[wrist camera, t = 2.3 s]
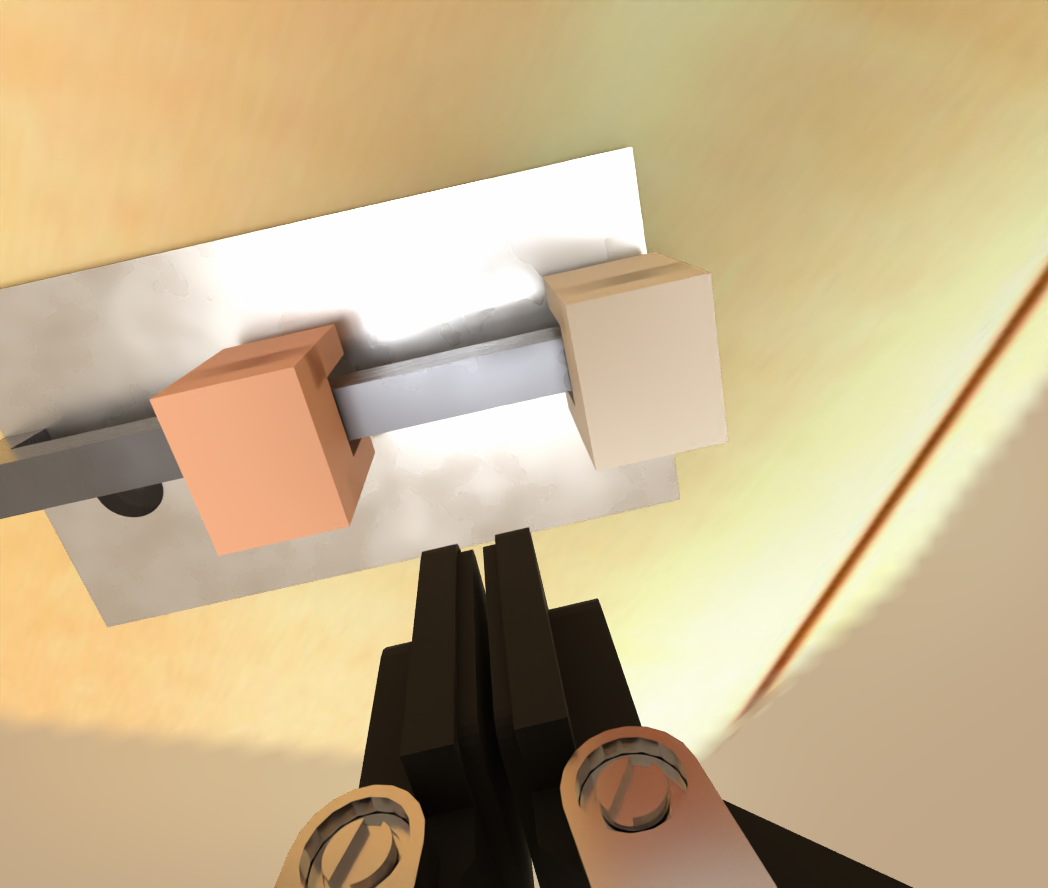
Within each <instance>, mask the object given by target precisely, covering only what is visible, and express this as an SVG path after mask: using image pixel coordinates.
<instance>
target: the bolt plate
mask: <svg viewBox="0 0 1048 888" xmlns="http://www.w3.org/2000/svg"><path fill="white" fill-rule="evenodd" d="M642 254H647V252H646V245H645V238H644V230H643V223H642V216H641V208H640V201H639V193H638V186H637V179H636V171H635V164H634V157H633V149H632V147H628V148H623V149H619V150H614V151H610V152H605V153H601V154H597V155H592V156H588V157H583V158H579V159H574V160H570V161H566V162H561V163H557V164H552V165H548V166H544V167H539V168H535V169H530V170H526V171H521V172H517V173H513V174H508V175H504V176H499V177H495V178H490V179H486V180H482V181H477V182H473V183H468V184H464V185H459V186H455V187H451V188H446V189H442V190H437V191H433V192H429V193H424V194H420V195H415V196H411V197H406V198H402V199H398V200H393V201H389V202H384V203H380V204H375V205H371V206H367V207H362V208H358V209H353V210H349V211H344V212H340V213H336V214H331V215H327V216H322V217H318V218H314V219H309V220H305V221H300V222H296V223H291V224H287V225H283V226H278V227H274V228H269V229H265V230H260V231H256V232H252V233H247V234H243V235H238V236H234V237H229V238H225V239H221V240H216V241H212V242H207V243H203V244H198V245H194V246H190V247H185V248H181V249H176V250H172V251H168V252H163V253H159V254H154V255H150V256H145V257H141V258H137V259H132V260H128V261H123V262H119V263H114V264H110V265H106V266H101V267H97V268H92V269H88V270H83V271H79V272H75V273H70V274H66V275H61V276H57V277H53V278H48V279H44V280H39V281H35V282H30V283H26V284H22V285H17V286H13V287H8V288H4V289H0V430H1V431H2V433H3V435H4V437H9V436H13V435H18V434H22V433H27V432H31V431H36V430H40V429H45V428H46V429H47V431H48V433H49V435H50V437H51V439H52V440H55V439H59V438H63V437H68V436H72V435H77V434H81V433H86V432H90V431H95V430H99V429H103V428H108V427H112V426H117V425H121V424H126V423H130V422H135V421H139V420H144V419H148V418H152V417H157V416H156V414H155V412H154V409H153V407H152V405H151V402H150V400H149V399H151V398H152V397H153V396H155V395H156V394H158V393H159V392H161V391H162V390H164V389H165V388H167V387H168V386H170V385H171V384H173V383H174V382H176V381H177V380H178V379H180V378H181V377H183V376H184V375H186V374H187V373H189V372H190V371H192V370H193V369H195V368H196V367H198V366H199V365H201V364H202V363H203V362H205V361H206V360H208V359H209V358H211V357H212V356H214V355H215V354H217V353H218V352H220V351H221V350H223V349H225V348H230V347H234V346H239V345H243V344H247V343H252V342H256V341H261V340H265V339H270V338H274V337H278V336H283V335H287V334H292V333H296V332H301V331H305V330H310V329H314V328H318V327H323V326H327V325H332V324H335V327H336V331H337V334H338V337H339V340H340V343H341V346H342V349H343V353H344V354H343V356H342V357H341V359H340V360H339V361H338V363H337V364H336V365H335V367H334V368H333V370H332V371H331V372H330V374H329V375H328V377H327V378H330V377H335V376H339V375H344V374H348V373H352V372H357V371H361V370H366V369H370V368H375V367H379V366H384V365H388V364H392V363H397V362H401V361H406V360H410V359H415V358H419V357H424V356H428V355H432V354H437V353H441V352H446V351H450V350H455V349H459V348H464V347H468V346H472V345H477V344H481V343H486V342H490V341H495V340H499V339H504V338H508V337H512V336H517V335H521V334H526V333H530V332H535V331H539V330H544V329H548V328H552V327H557V326H560V324H559V323H558V321H557V320H556V318H555V316H554V315H553V313H552V312H551V310H550V309H549V305H548V300H547V295H546V290H545V285H544V280H543V277H545V276H549V275H554V274H558V273H563V272H567V271H571V270H576V269H580V268H585V267H589V266H594V265H598V264H602V263H607V262H611V261H616V260H620V259H625V258H629V257H634V256H638V255H642ZM370 437H371V440H372V444H373V447H374V450H375V455H374V457H373V460H372V463H371V466H370V469H369V472H368V475H367V478H366V481H365V484H364V486H363V489H362V492H361V495H360V498H359V501H358V504H357V507H356V510H355V513H354V516H353V518H352V521H351V524H350V527H346V528H341V529H337V530H332V531H328V532H324V533H319V534H315V535H310V536H306V537H301V538H297V539H292V540H288V541H283V542H279V543H274V544H270V545H265V546H261V547H257V548H252V549H248V550H243V551H239V552H234V553H230V554H225V555H221V556H218V554H217V552H216V549H215V547H214V545H213V543H212V540H211V538H210V536H209V534H208V531H207V529H206V527H205V524H204V522H203V520H202V518H201V515H200V513H199V511H198V509H197V506H196V504H195V502H194V500H193V497H192V495H191V493H190V491H189V488H188V486H187V484H186V482H185V479H184V478H181V479H176V480H172V481H167V482H163V483H158V484H154V485H150V486H145V487H141V488H136V489H132V490H127V491H123V492H118V493H114V494H109V495H105V496H101V497H96V498H92V499H87V500H83V501H78V502H74V503H69V504H65V505H60V506H56V507H52V508H47V509H44V511H45V513H46V515H47V517H48V518H49V520H50V522H51V524H52V526H53V528H54V530H55V531H56V533H57V535H58V537H59V539H60V541H61V542H62V544H63V546H64V548H65V550H66V552H67V554H68V555H69V557H70V559H71V561H72V563H73V565H74V567H75V568H76V570H77V572H78V574H79V576H80V578H81V579H82V581H83V583H84V585H85V587H86V589H87V591H88V592H89V594H90V596H91V598H92V600H93V602H94V604H95V605H96V607H97V609H98V611H99V613H100V615H101V616H102V618H103V620H104V622H105V624H106V626H107V627H111V626H115V625H120V624H124V623H129V622H133V621H138V620H142V619H147V618H151V617H156V616H160V615H164V614H169V613H173V612H178V611H182V610H187V609H191V608H196V607H200V606H205V605H209V604H214V603H218V602H223V601H227V600H232V599H236V598H240V597H245V596H249V595H254V594H258V593H263V592H267V591H272V590H276V589H281V588H285V587H290V586H294V585H299V584H303V583H308V582H312V581H317V580H321V579H325V578H330V577H334V576H339V575H343V574H348V573H352V572H357V571H361V570H366V569H370V568H375V567H379V566H384V565H388V564H393V563H397V562H401V561H406V560H410V559H415V558H419V557H421V554H422V552H423V551H427V550H431V549H436V548H440V547H444V546H449V545H453V544H458V545H459V548H464V547H469V546H473V545H478V544H482V543H486V542H491V541H495V535H496V534H501V533H505V532H509V531H514V530H518V529H522V528H527V527H529V529H530V533H531V532H536V531H540V530H545V529H549V528H554V527H558V526H562V525H567V524H571V523H576V522H580V521H585V520H589V519H594V518H598V517H603V516H607V515H612V514H616V513H621V512H625V511H630V510H634V509H639V508H643V507H647V506H652V505H656V504H661V503H665V502H670V501H674V500H679V499H680V496H679V489H678V481H677V474H676V466H675V459H674V454H672V455H667V456H663V457H659V458H654V459H650V460H645V461H641V462H636V463H632V464H627V465H623V466H618V467H614V468H609V469H605V470H600V471H596V470H595V467H594V465H593V463H592V461H591V458H590V456H589V454H588V452H587V449H586V447H585V445H584V443H583V440H582V438H581V436H580V433H579V431H578V429H577V427H576V424H575V422H574V420H573V418H572V415H571V413H570V411H569V408H568V403H567V398H566V393H565V392H564V393H559V394H555V395H550V396H546V397H542V398H537V399H533V400H528V401H524V402H519V403H515V404H510V405H506V406H501V407H497V408H493V409H488V410H484V411H479V412H475V413H470V414H466V415H461V416H457V417H452V418H448V419H444V420H439V421H435V422H430V423H426V424H421V425H417V426H412V427H408V428H403V429H399V430H395V431H390V432H386V433H381V434H377V435H372V436H370Z"/></svg>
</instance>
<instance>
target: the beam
mask: <svg viewBox="0 0 1048 888" xmlns="http://www.w3.org/2000/svg"><path fill="white" fill-rule="evenodd" d="M327 379H328V382H329V385H330V388H331V391H332V394H333V397H334V400H335V403H336V406H337V409H338V412H339V415H340V418H341V421H342V424H343V427H344V430H345V433H346V436H347V439H348V441H350V440H354V439H359V438H363V437H368V436H372V435H377V434H381V433H386V432H390V431H395V430H399V429H403V428H408V427H412V426H417V425H421V424H426V423H430V422H435V421H439V420H444V419H448V418H452V417H457V416H461V415H466V414H470V413H475V412H479V411H484V410H488V409H493V408H497V407H501V406H506V405H510V404H515V403H519V402H524V401H528V400H533V399H537V398H542V397H546V396H550V395H555V394H559V393H564V392H568V391H572V386H571V380H570V375H569V370H568V364H567V359H566V354H565V349H564V343H563V338H562V333H561V328H560V326H557V327H552V328H548V329H544V330H539V331H535V332H530V333H526V334H521V335H517V336H512V337H508V338H504V339H499V340H495V341H490V342H486V343H481V344H477V345H472V346H468V347H464V348H459V349H455V350H450V351H446V352H441V353H437V354H432V355H428V356H424V357H419V358H415V359H410V360H406V361H401V362H397V363H392V364H388V365H384V366H379V367H375V368H370V369H366V370H361V371H357V372H352V373H348V374H344V375H339V376H335V377H330V378H327ZM181 478H184V477H183V475H182V473H181V470H180V468H179V466H178V463H177V461H176V459H175V457H174V454H173V452H172V450H171V448H170V445H169V443H168V441H167V439H166V436H165V434H164V432H163V430H162V427H161V425H160V423H159V421H158V418H157V417H152V418H148V419H144V420H139V421H135V422H130V423H126V424H121V425H117V426H112V427H108V428H103V429H99V430H95V431H90V432H86V433H81V434H77V435H72V436H68V437H63V438H59V439H55V440H52V439H51V437H50V435H49V433H48V431H47V429H46V428H45V429H40V430H36V431H31V432H27V433H22V434H18V435H13V436H9V437H5V438H3V439H1V440H0V519H3V518H7V517H11V516H16V515H20V514H25V513H29V512H34V511H38V510H43V509H47V508H52V507H56V506H60V505H65V504H69V503H74V502H78V501H83V500H87V499H92V498H96V497H101V496H105V495H109V494H114V493H118V492H123V491H127V490H132V489H136V488H141V487H145V486H150V485H154V484H158V483H163V482H167V481H172V480H176V479H181Z"/></svg>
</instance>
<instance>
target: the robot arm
mask: <svg viewBox="0 0 1048 888" xmlns="http://www.w3.org/2000/svg"><path fill="white" fill-rule="evenodd" d="M483 556H484V571H485V587H486V593H485V590H484V586H483V582H482V579H481V575H480V571H479V568H478V564H477V560H476V557H475V554H474V551H473V550H469V551H464V552H461V550H460V548H459V545H458V544H453V545H449V546H444V547H440V548H436V549H431V550H427V551H423V552H422V554H421V561H420V571H419V580H418V590H417V599H416V609H415V618H414V627H413V637H412V642H408V643H403V644H399V645H395V646H390V647H386V648H385V649H384V650H383V652H382V656H381V660H380V666H379V672H378V678H377V684H376V690H375V695H374V701H373V707H372V713H371V719H370V725H369V731H368V737H367V743H366V749H365V755H364V761H363V767H362V773H361V779H360V785H359V789H354V790H352V791H351V792H348V793H346V794H344V795H342V796H340V797H338V798H336V799H334V800H333V801H332V802H330V803H329V804H328V805H326V806H325V807H324V808H323V809H321V810H320V811H319V812H317V813H316V814H315V815H314V816H313V817H312V818H311V820H310V821H309V822H308V823H307V824H306V826H304V828H303V829H302V830H301V831H300V832H299V834H298V836H297V838H296V840H295V842H294V843H293V845H292V847H291V849H290V850H289V853H288V855H287V857H286V860H285V862H284V865H283V867H282V870H281V872H280V875H279V877H278V880H277V882H276V885H275V887H274V888H534V879H533V871H532V862H533V865H534V869H535V872H536V875H537V879H538V882H539V886H540V888H913V887H910V886H908V885H906V884H904V883H902V882H900V881H897V880H895V879H893V878H891V877H889V876H887V875H884V874H882V873H880V872H878V871H876V870H874V869H872V868H869V867H867V866H865V865H863V864H861V863H859V862H856V861H854V860H852V859H850V858H848V857H846V856H843V855H841V854H839V853H837V852H835V851H833V850H830V849H828V848H826V847H824V846H822V845H820V844H818V843H815V842H813V841H811V840H809V839H807V838H805V837H802V836H800V835H798V834H796V833H794V832H791V831H789V830H787V829H785V828H783V827H781V826H779V825H776V824H774V823H772V822H770V821H768V820H766V819H764V818H761V817H759V816H757V815H755V814H753V813H750V812H748V811H746V810H744V809H742V808H740V807H737V806H735V805H733V804H731V803H729V802H727V801H725V800H722V799H721V797H720V795H719V794H718V792H717V791H716V789H715V787H714V786H713V784H712V783H711V781H710V779H709V778H708V776H707V775H706V773H705V771H704V770H703V768H702V767H701V765H700V763H699V762H698V760H697V759H696V757H695V756H694V755H693V754H692V753H691V751H690V750H689V749H688V748H687V747H686V746H685V745H684V744H683V742H681V741H679V740H678V739H676V738H674V737H673V736H671V735H669V734H668V733H666V732H663V731H660V730H656V729H652V728H649V727H642V726H641V723H640V720H639V717H638V714H637V711H636V708H635V705H634V702H633V700H632V697H631V694H630V691H629V688H628V685H627V682H626V679H625V676H624V673H623V670H622V667H621V664H620V661H619V658H618V655H617V652H616V649H615V646H614V643H613V640H612V637H611V635H610V632H609V629H608V626H607V623H606V620H605V617H604V614H603V611H602V608H601V605H600V603H599V600H598V599H593V600H589V601H584V602H580V603H576V604H572V605H567V606H563V607H559V608H554V609H550V610H548V605H547V601H546V597H545V592H544V588H543V584H542V580H541V575H540V571H539V567H538V563H537V558H536V554H535V550H534V546H533V541H532V537H531V533H530V529H529V527H527V528H522V529H518V530H514V531H509V532H505V533H501V534H496V535H495V545H490V546H486V547H483ZM531 858H532V860H531Z"/></svg>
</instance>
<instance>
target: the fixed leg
mask: <svg viewBox="0 0 1048 888" xmlns="http://www.w3.org/2000/svg"><path fill="white" fill-rule="evenodd" d="M543 280H544V285H545V290H546V295H547V300H548V305H549V309H550V310H551V312H552V313H553V315H554V316H555V318H556V320H557V321H558V323H559V324H560V328H561V333H562V338H563V343H564V349H565V354H566V359H567V364H568V370H569V375H570V380H571V386H572V391H568V392H565V393H566V398H567V403H568V408H569V411H570V413H571V415H572V418H573V420H574V422H575V424H576V427H577V429H578V431H579V433H580V436H581V438H582V440H583V443H584V445H585V447H586V449H587V452H588V454H589V456H590V458H591V461H592V463H593V465H594V467H595V470H596V471H600V470H605V469H609V468H614V467H618V466H623V465H627V464H632V463H636V462H641V461H645V460H650V459H654V458H659V457H663V456H667V455H672V454H676V453H681V452H685V451H690V450H694V449H699V448H703V447H708V446H712V445H717V444H721V443H725V442H728V435H727V426H726V416H725V406H724V396H723V386H722V376H721V366H720V357H719V347H718V337H717V327H716V317H715V307H714V297H713V288H712V278H711V273H710V272H707V271H704V270H702V269H699V268H696V267H694V266H691V265H688V264H686V263H683V262H680V261H678V260H675V259H672V258H670V257H667V256H664V255H662V254H659V253H656V252H651V253H647V254H642V255H638V256H634V257H629V258H625V259H620V260H616V261H611V262H607V263H602V264H598V265H594V266H589V267H585V268H580V269H576V270H571V271H567V272H563V273H558V274H554V275H549V276H545V277H543Z"/></svg>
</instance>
